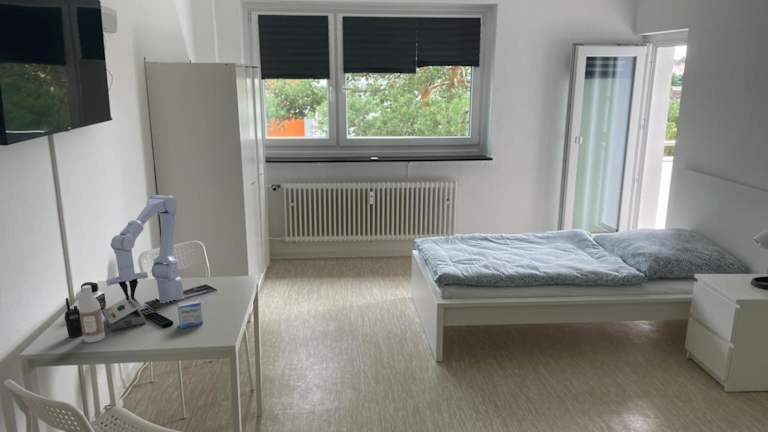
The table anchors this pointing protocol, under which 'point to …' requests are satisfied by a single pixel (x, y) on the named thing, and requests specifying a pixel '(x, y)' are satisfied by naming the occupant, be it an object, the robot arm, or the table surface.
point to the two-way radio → (73, 321)
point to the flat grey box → (127, 321)
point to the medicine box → (190, 313)
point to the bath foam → (91, 316)
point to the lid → (120, 309)
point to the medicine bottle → (95, 294)
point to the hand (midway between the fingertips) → (130, 299)
